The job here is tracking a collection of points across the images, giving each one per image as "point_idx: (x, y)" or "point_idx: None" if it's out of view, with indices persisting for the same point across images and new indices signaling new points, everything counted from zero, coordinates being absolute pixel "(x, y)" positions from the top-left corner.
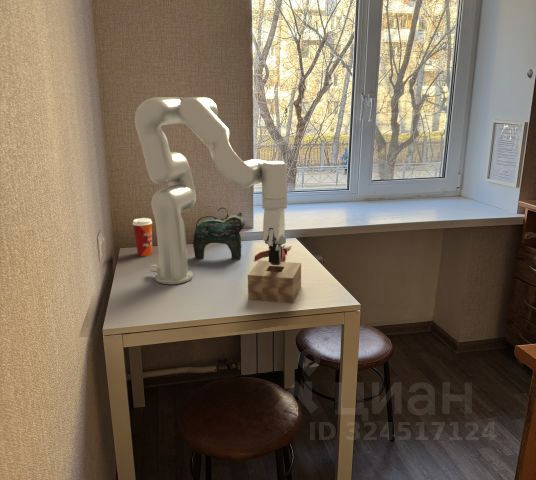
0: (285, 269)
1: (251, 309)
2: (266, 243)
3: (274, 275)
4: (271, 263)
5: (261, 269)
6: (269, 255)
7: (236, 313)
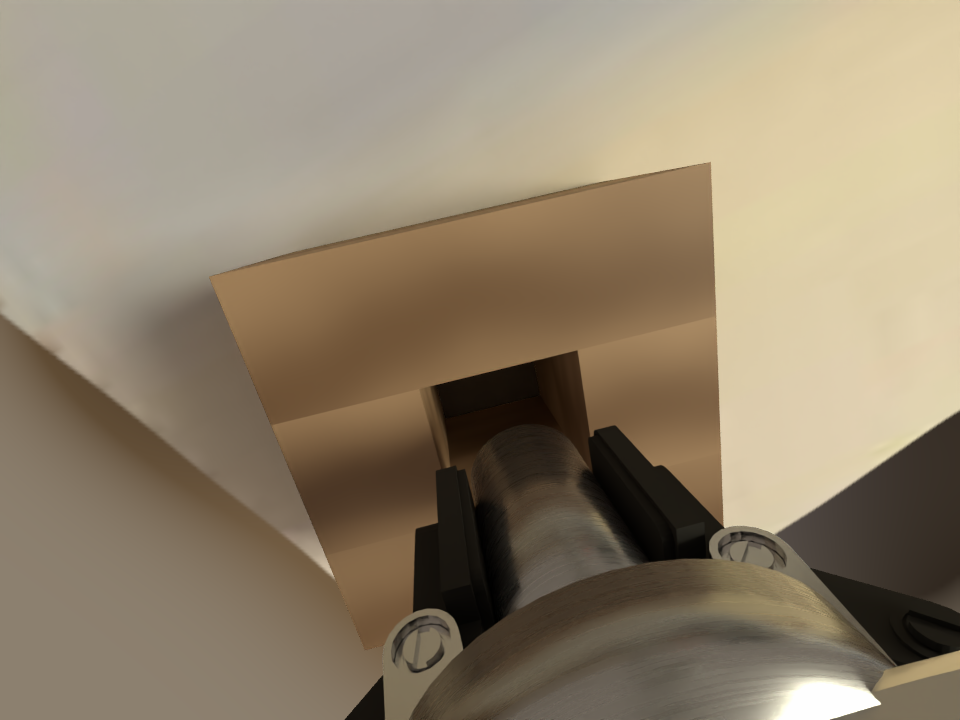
0: None
1: (163, 353)
2: (421, 708)
3: (347, 512)
4: (478, 460)
5: (438, 332)
6: (442, 533)
7: (41, 296)
